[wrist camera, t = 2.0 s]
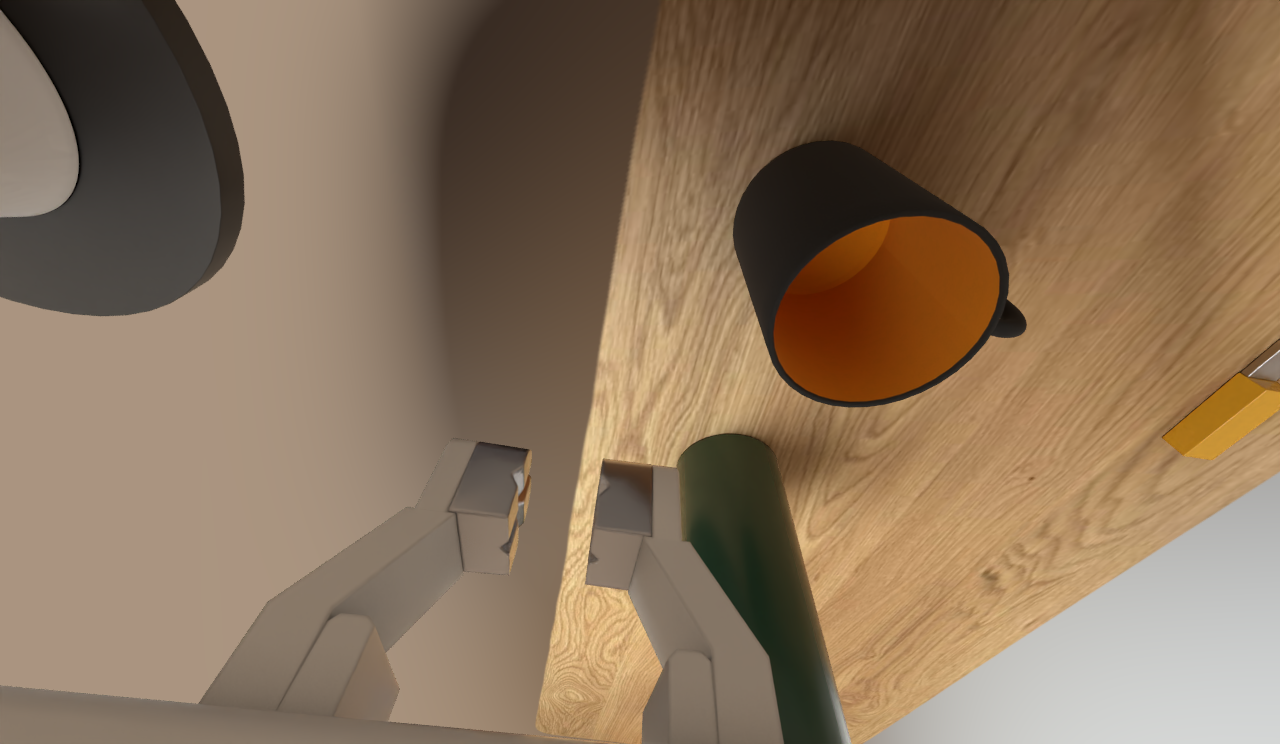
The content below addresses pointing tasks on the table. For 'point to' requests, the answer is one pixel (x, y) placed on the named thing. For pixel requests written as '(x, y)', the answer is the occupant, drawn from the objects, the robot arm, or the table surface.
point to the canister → (762, 575)
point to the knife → (1231, 410)
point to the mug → (866, 277)
